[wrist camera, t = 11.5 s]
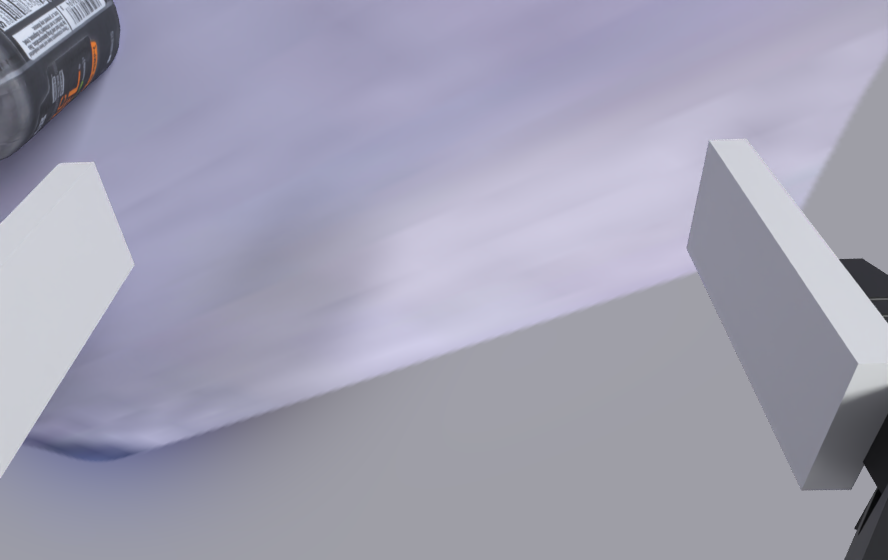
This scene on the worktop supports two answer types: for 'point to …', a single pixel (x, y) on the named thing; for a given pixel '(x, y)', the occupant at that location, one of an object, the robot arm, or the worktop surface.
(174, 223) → the worktop surface
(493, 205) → the worktop surface
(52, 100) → the pill bottle
